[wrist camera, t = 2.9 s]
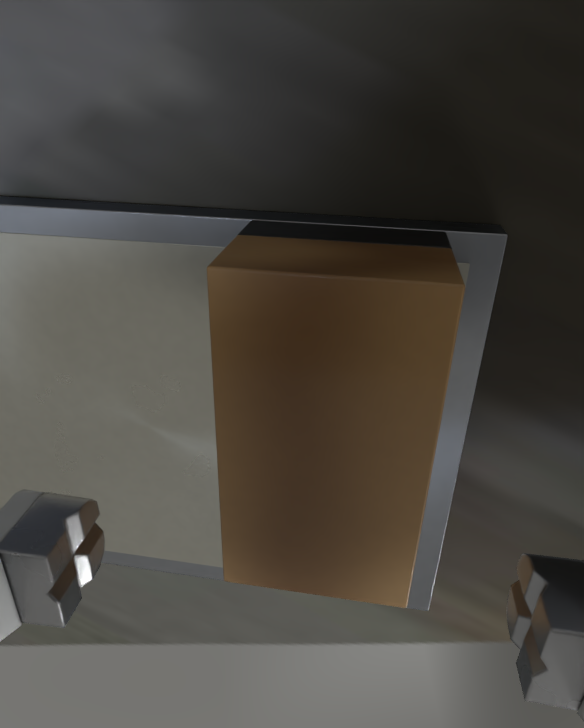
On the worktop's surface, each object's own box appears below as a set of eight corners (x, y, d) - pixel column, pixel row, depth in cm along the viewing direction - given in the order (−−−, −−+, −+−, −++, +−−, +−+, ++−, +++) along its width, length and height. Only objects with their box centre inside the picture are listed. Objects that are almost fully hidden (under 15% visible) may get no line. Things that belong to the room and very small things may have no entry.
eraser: (446, 230, 14) (466, 285, 10) (403, 504, 18) (407, 609, 14) (250, 219, 14) (205, 266, 11) (254, 486, 18) (223, 582, 15)
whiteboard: (501, 224, 14) (509, 234, 13) (427, 589, 21) (429, 613, 20) (-168, 185, 17) (-200, 192, 16) (-45, 521, 23) (-63, 539, 23)
